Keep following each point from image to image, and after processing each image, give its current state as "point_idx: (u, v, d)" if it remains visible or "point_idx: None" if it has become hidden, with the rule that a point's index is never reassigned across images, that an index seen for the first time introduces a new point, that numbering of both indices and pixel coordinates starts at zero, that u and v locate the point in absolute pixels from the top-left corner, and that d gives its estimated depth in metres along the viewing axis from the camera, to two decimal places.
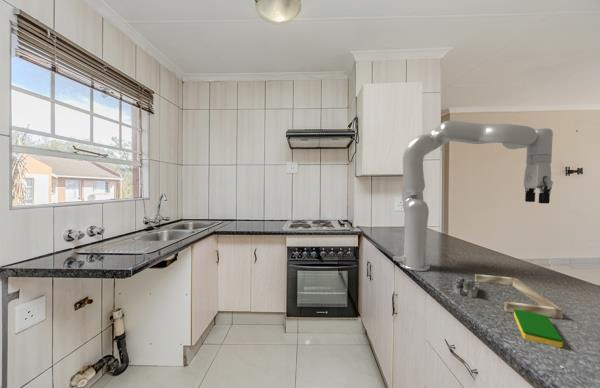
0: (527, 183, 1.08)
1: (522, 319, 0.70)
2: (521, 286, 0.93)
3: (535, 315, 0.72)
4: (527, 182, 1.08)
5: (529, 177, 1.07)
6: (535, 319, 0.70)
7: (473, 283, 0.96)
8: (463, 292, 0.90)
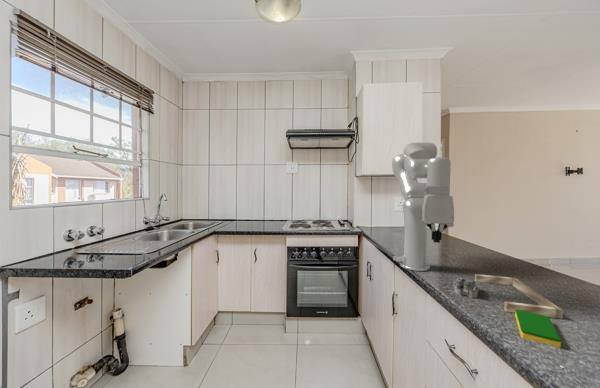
0: (434, 218, 0.93)
1: (522, 319, 0.70)
2: (521, 286, 0.93)
3: (536, 315, 0.72)
4: (434, 217, 0.93)
5: (438, 211, 0.93)
6: (535, 319, 0.70)
7: (474, 283, 0.96)
8: (463, 292, 0.90)
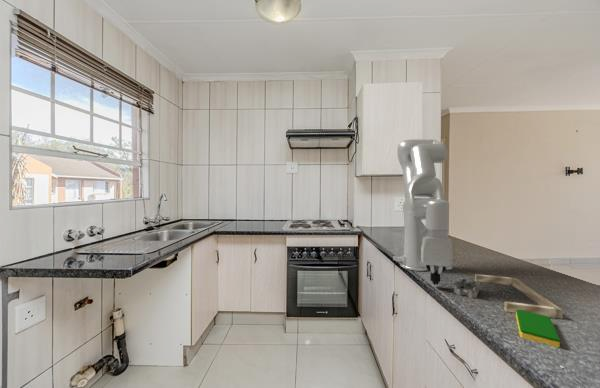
0: (433, 261, 0.94)
1: (522, 319, 0.70)
2: (521, 286, 0.93)
3: (537, 315, 0.72)
4: (433, 259, 0.94)
5: (437, 254, 0.93)
6: (535, 319, 0.70)
7: (474, 283, 0.96)
8: (463, 292, 0.90)
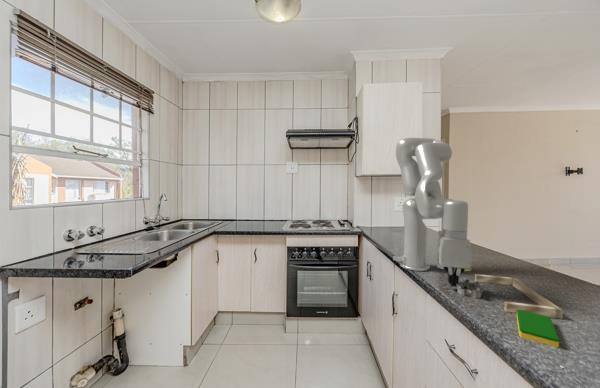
0: (451, 262, 0.92)
1: (522, 319, 0.70)
2: (521, 286, 0.93)
3: (537, 316, 0.72)
4: (451, 261, 0.92)
5: (455, 256, 0.91)
6: (536, 319, 0.70)
7: (477, 284, 0.95)
8: (467, 293, 0.90)
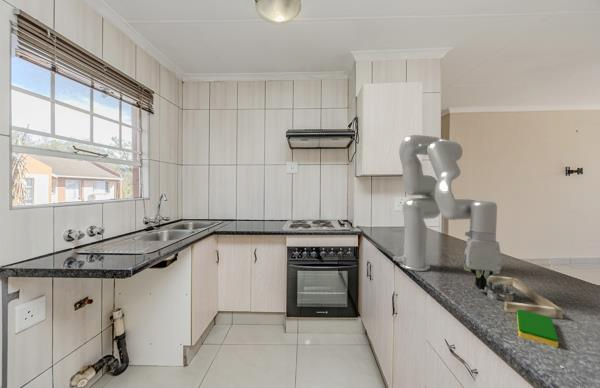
0: (480, 265, 0.89)
1: (522, 318, 0.70)
2: (521, 286, 0.93)
3: (538, 316, 0.72)
4: (480, 263, 0.89)
5: (484, 258, 0.89)
6: (536, 319, 0.70)
7: (501, 286, 0.94)
8: (499, 297, 0.87)
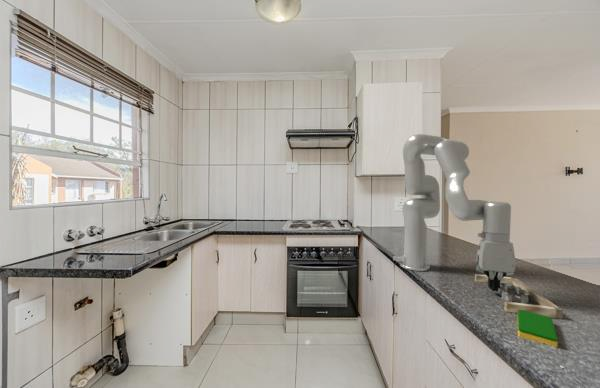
0: (494, 266, 0.88)
1: (522, 318, 0.70)
2: (521, 286, 0.93)
3: (538, 316, 0.72)
4: (493, 265, 0.88)
5: (497, 259, 0.88)
6: (536, 319, 0.70)
7: (513, 287, 0.93)
8: (514, 298, 0.86)
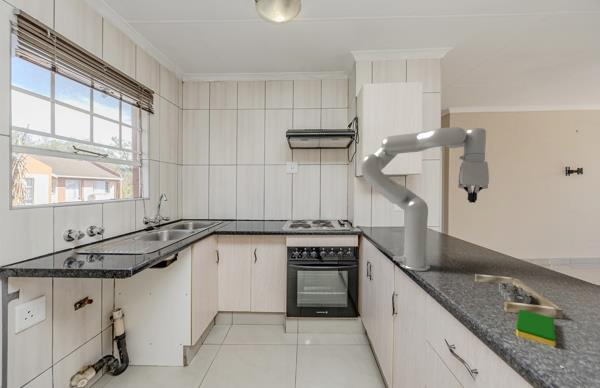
0: (471, 181, 1.08)
1: (522, 318, 0.71)
2: (521, 286, 0.93)
3: (540, 316, 0.72)
4: (471, 180, 1.08)
5: (474, 175, 1.07)
6: (536, 319, 0.70)
7: (515, 287, 0.93)
8: (516, 299, 0.85)
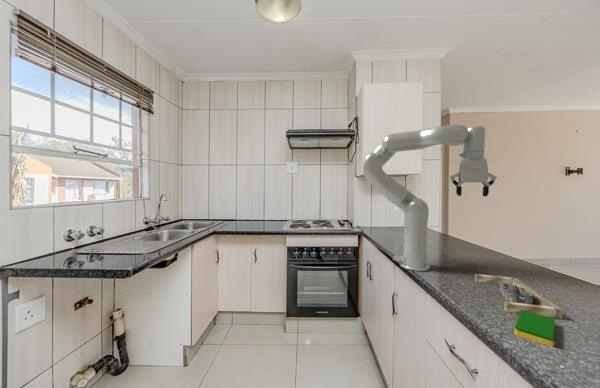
0: (471, 177, 1.10)
1: (522, 318, 0.71)
2: (521, 286, 0.93)
3: (541, 317, 0.72)
4: (471, 176, 1.10)
5: (474, 172, 1.10)
6: (537, 320, 0.70)
7: (516, 287, 0.92)
8: (518, 299, 0.85)
